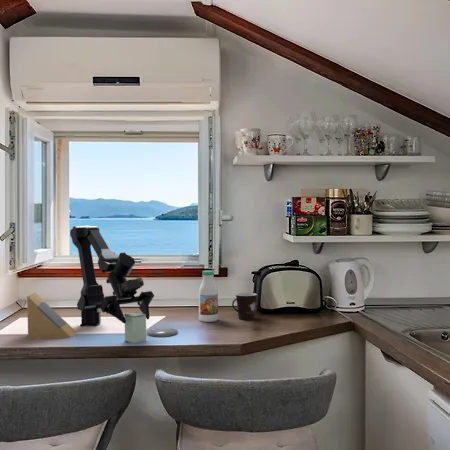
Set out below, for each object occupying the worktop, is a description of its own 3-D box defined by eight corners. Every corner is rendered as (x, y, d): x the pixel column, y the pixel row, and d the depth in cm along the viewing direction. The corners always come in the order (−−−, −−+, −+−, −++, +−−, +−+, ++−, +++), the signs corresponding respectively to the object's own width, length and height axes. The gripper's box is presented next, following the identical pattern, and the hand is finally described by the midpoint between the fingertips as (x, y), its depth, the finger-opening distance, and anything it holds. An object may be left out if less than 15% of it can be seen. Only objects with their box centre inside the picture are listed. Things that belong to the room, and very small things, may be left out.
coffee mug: (252, 315, 212) (252, 292, 212) (260, 320, 204) (260, 295, 204) (226, 317, 208) (225, 293, 208) (233, 322, 200) (232, 297, 200)
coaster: (144, 337, 178) (144, 335, 178) (149, 329, 189) (149, 328, 189) (176, 336, 178) (176, 335, 178) (179, 329, 189) (179, 327, 189)
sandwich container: (71, 338, 178) (71, 295, 177) (27, 338, 177) (26, 296, 177) (77, 332, 186) (77, 291, 186) (35, 332, 186) (35, 292, 185)
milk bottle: (194, 320, 204) (194, 270, 203) (208, 317, 210) (208, 269, 209) (208, 323, 199) (208, 272, 198) (222, 320, 204) (221, 270, 204)
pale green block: (125, 340, 173) (124, 314, 173) (138, 337, 177) (137, 312, 177) (132, 343, 169) (132, 316, 169) (146, 340, 173) (145, 314, 173)
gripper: (103, 272, 169) (121, 310, 161) (150, 268, 182) (169, 302, 174) (93, 293, 176) (109, 330, 168) (139, 287, 188) (156, 321, 180)
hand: (137, 320), depth 172 cm, fingers open, 9 cm apart
